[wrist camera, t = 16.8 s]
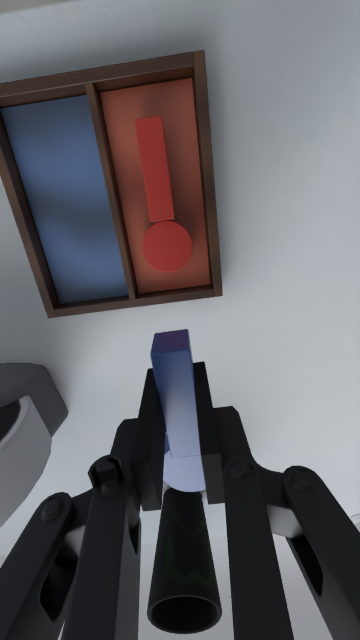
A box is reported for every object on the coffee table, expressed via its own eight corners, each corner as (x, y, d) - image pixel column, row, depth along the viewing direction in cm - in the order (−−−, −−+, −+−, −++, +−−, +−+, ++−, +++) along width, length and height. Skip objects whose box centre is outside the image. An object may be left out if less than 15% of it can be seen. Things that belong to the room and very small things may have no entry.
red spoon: (124, 132, 21) (117, 121, 19) (178, 124, 21) (178, 111, 19) (148, 272, 25) (145, 277, 23) (193, 266, 25) (195, 271, 23)
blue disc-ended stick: (133, 335, 15) (125, 357, 13) (208, 325, 15) (214, 345, 13) (165, 474, 19) (163, 511, 17) (224, 467, 19) (231, 503, 17)
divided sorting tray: (-10, 100, 21) (-30, 87, 19) (201, 66, 20) (204, 49, 18) (57, 310, 27) (47, 318, 25) (219, 290, 27) (222, 295, 25)
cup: (150, 510, 39) (138, 628, 28) (164, 474, 36) (157, 589, 25) (199, 519, 40) (207, 638, 28) (216, 485, 37) (233, 601, 26)
